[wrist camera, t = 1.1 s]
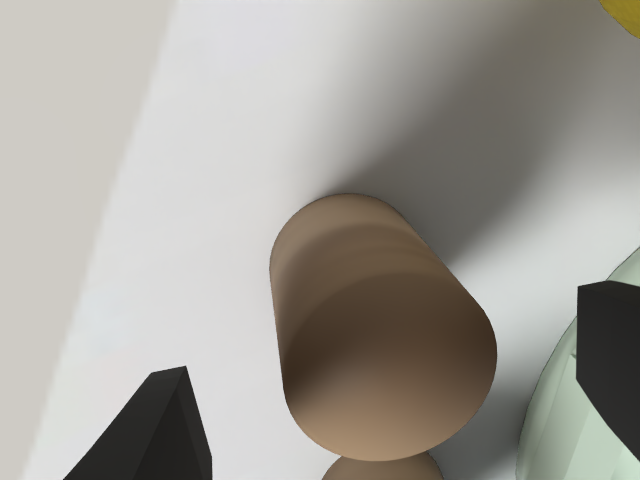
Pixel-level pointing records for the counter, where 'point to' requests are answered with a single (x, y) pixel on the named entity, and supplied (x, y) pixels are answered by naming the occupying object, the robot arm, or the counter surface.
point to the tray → (572, 419)
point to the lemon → (625, 14)
